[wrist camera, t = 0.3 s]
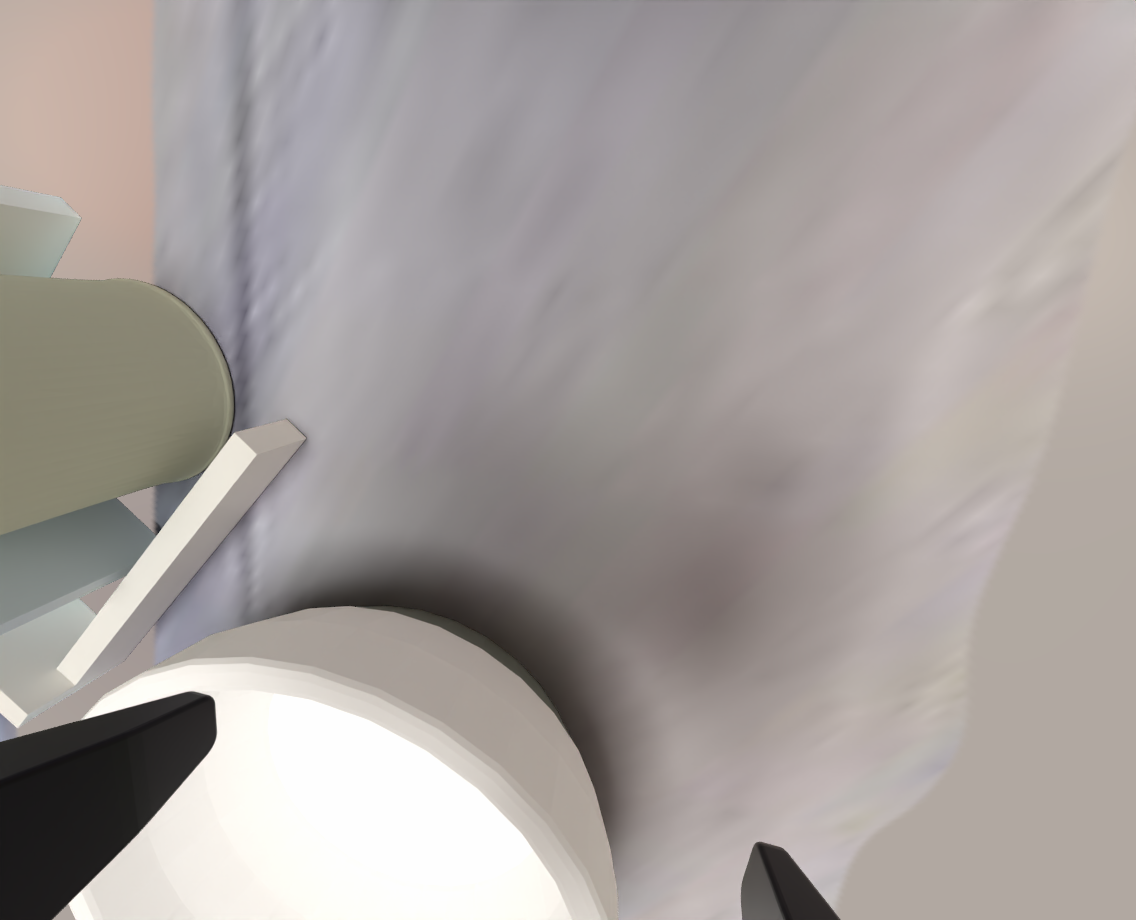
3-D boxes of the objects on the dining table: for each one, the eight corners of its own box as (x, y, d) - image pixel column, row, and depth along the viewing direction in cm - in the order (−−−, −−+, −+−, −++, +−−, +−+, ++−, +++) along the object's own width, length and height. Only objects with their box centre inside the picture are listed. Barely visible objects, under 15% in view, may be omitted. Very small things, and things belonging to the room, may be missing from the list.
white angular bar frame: (60, 197, 23) (-101, 164, 18) (306, 438, 23) (215, 468, 19) (-80, 473, 28) (-232, 504, 23) (124, 661, 29) (17, 728, 24)
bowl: (153, 589, 27) (-57, 699, 19) (566, 511, 22) (513, 616, 14) (304, 923, 32) (185, 1122, 24) (676, 921, 27) (682, 1174, 19)
